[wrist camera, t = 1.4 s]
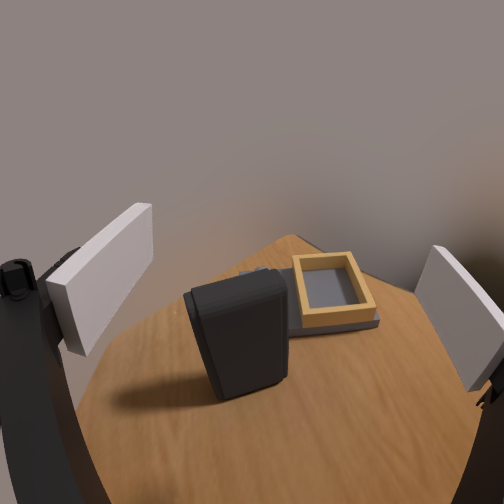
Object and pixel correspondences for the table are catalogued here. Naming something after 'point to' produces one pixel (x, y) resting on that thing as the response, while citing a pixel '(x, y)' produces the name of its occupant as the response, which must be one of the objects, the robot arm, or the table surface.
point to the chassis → (327, 295)
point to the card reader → (242, 330)
